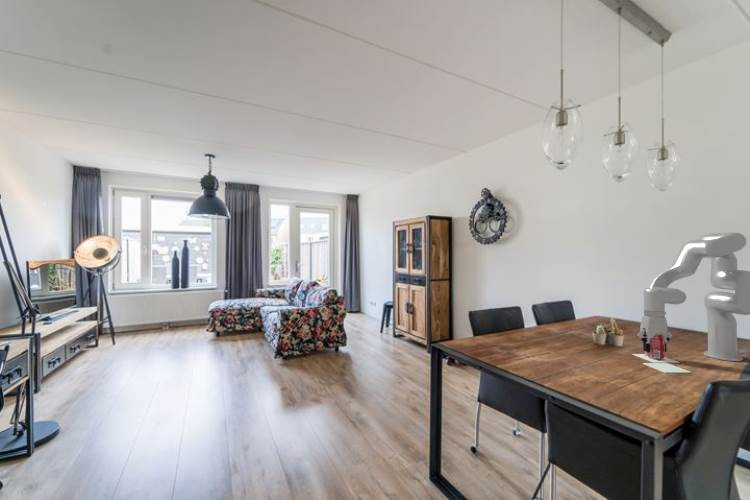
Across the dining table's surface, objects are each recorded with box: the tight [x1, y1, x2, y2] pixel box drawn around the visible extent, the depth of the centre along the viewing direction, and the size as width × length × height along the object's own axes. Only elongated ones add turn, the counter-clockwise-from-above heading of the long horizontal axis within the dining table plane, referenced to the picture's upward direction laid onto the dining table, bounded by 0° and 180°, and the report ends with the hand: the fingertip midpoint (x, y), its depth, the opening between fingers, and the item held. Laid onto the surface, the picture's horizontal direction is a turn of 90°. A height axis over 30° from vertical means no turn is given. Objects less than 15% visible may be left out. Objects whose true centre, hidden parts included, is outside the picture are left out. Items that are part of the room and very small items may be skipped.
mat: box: [642, 362, 692, 374], centre depth 137 cm, size 11×11×1 cm
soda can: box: [644, 334, 666, 360], centre depth 150 cm, size 7×7×12 cm
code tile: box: [631, 353, 680, 364], centre depth 150 cm, size 12×12×1 cm
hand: (654, 351), depth 150 cm, fingers closed on soda can, 7 cm apart
